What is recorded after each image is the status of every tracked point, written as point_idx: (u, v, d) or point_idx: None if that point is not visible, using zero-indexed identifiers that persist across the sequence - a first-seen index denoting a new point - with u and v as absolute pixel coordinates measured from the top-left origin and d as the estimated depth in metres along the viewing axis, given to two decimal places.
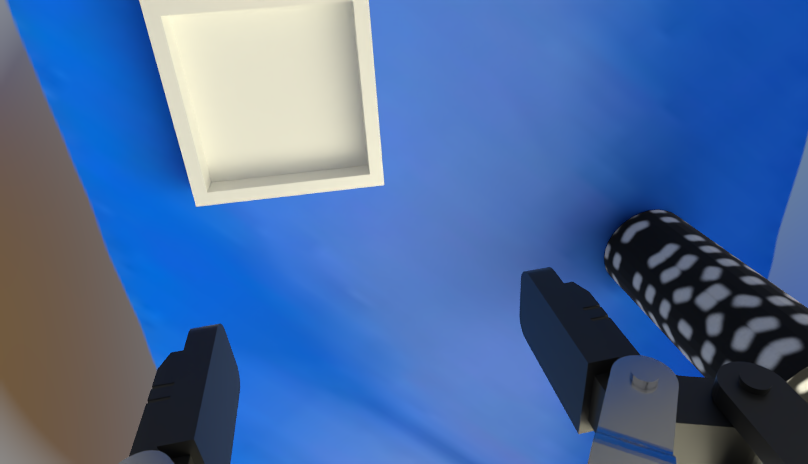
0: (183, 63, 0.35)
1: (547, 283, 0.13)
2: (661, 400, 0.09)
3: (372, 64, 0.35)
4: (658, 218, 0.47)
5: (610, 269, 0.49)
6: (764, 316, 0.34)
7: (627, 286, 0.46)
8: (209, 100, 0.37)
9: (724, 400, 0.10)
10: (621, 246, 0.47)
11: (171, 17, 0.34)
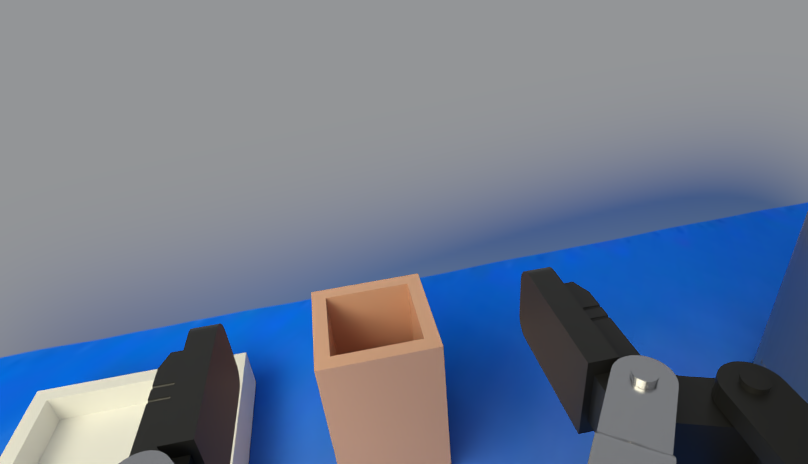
0: None
1: (547, 283, 0.13)
2: (661, 400, 0.09)
3: None
4: None
5: None
6: None
7: None
8: None
9: (724, 400, 0.10)
10: None
11: None
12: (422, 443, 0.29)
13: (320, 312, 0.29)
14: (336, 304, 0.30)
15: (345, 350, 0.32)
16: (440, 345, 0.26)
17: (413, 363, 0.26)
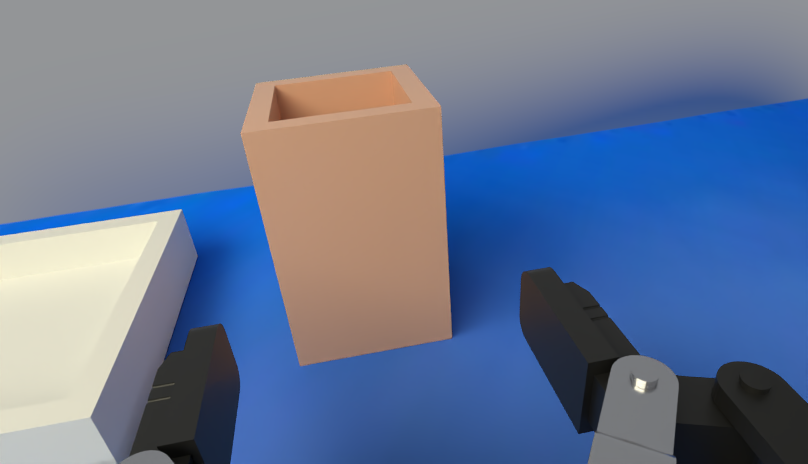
0: (107, 264, 0.27)
1: (547, 283, 0.13)
2: (661, 400, 0.09)
3: None
4: None
5: None
6: None
7: None
8: (45, 284, 0.26)
9: (724, 400, 0.10)
10: None
11: None
12: (410, 287, 0.20)
13: (264, 94, 0.20)
14: (290, 98, 0.21)
15: None
16: (436, 105, 0.17)
17: (395, 135, 0.17)
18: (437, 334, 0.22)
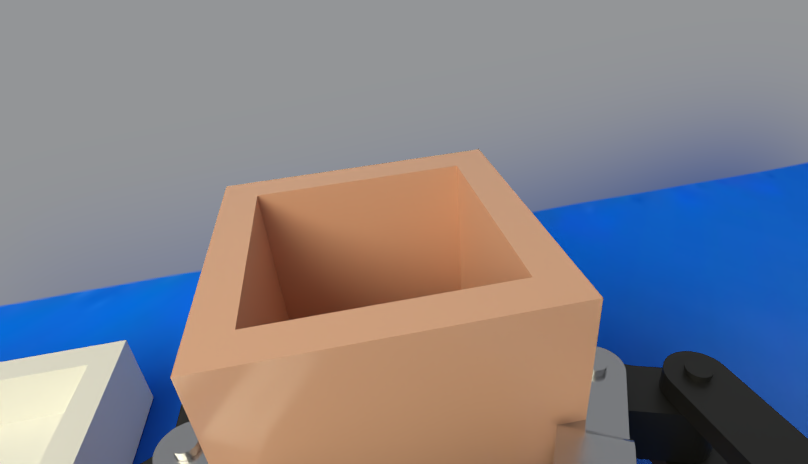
0: (14, 424, 0.18)
1: None
2: (607, 388, 0.10)
3: None
4: None
5: None
6: None
7: None
8: None
9: (672, 392, 0.10)
10: None
11: None
12: None
13: (236, 222, 0.11)
14: (285, 214, 0.12)
15: None
16: (592, 295, 0.08)
17: (503, 354, 0.08)
18: None
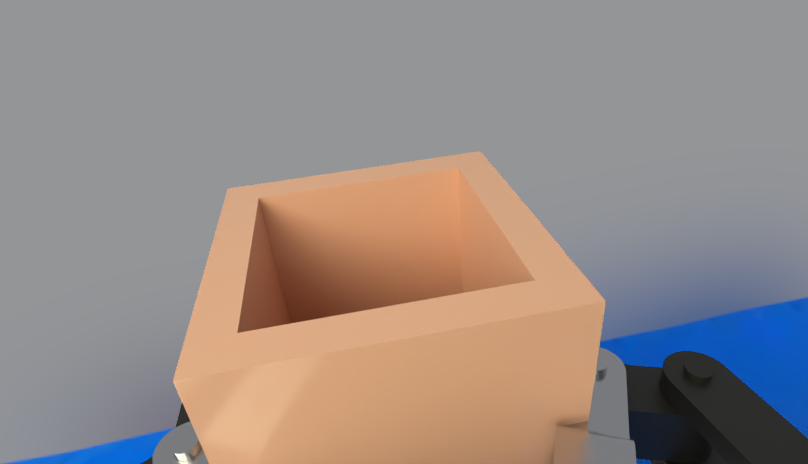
0: None
1: None
2: (607, 388, 0.10)
3: None
4: None
5: None
6: None
7: None
8: None
9: (673, 392, 0.10)
10: None
11: None
12: None
13: (237, 224, 0.11)
14: (287, 216, 0.12)
15: None
16: (595, 298, 0.08)
17: (506, 358, 0.08)
18: None
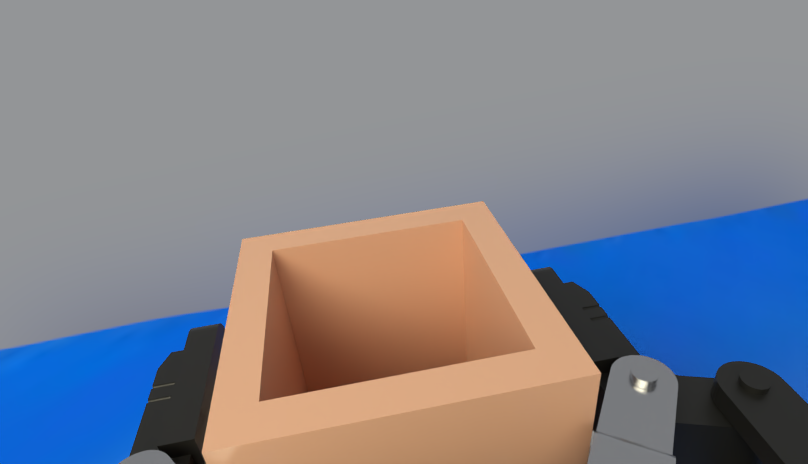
0: None
1: (547, 283, 0.13)
2: (660, 400, 0.09)
3: None
4: None
5: None
6: None
7: None
8: None
9: (724, 400, 0.10)
10: None
11: None
12: None
13: (253, 280, 0.12)
14: (298, 266, 0.13)
15: (322, 371, 0.15)
16: (591, 370, 0.09)
17: (508, 424, 0.09)
18: None
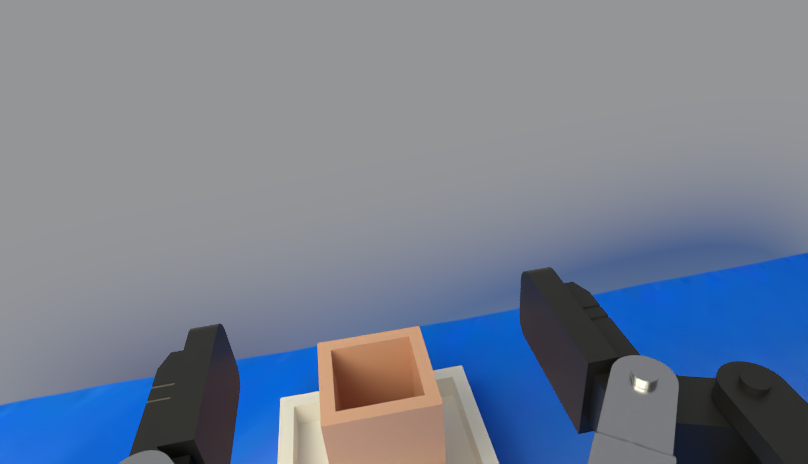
0: None
1: (547, 283, 0.13)
2: (661, 400, 0.09)
3: None
4: None
5: None
6: None
7: None
8: None
9: (724, 400, 0.10)
10: None
11: (449, 397, 0.40)
12: None
13: (325, 364, 0.30)
14: (341, 355, 0.32)
15: (348, 397, 0.33)
16: (440, 402, 0.27)
17: (414, 419, 0.27)
18: None
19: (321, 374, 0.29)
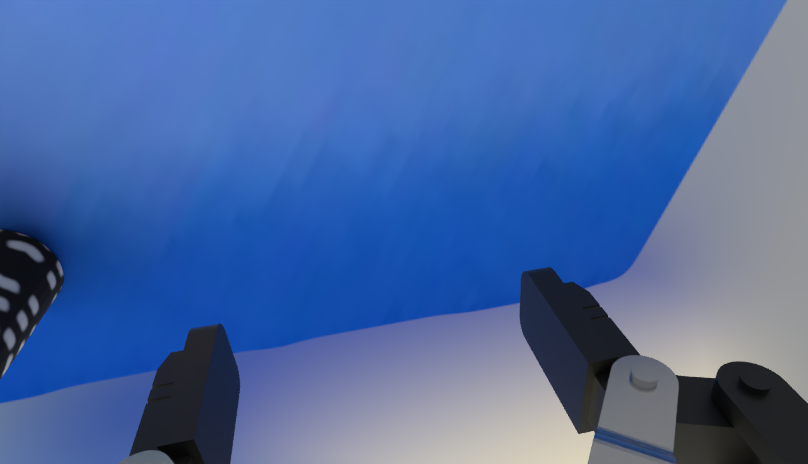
0: None
1: (547, 283, 0.13)
2: (661, 400, 0.09)
3: None
4: (50, 269, 0.44)
5: None
6: None
7: None
8: None
9: (724, 400, 0.10)
10: (1, 242, 0.42)
11: None
12: None
13: None
14: None
15: None
16: None
17: None
18: None
19: None
